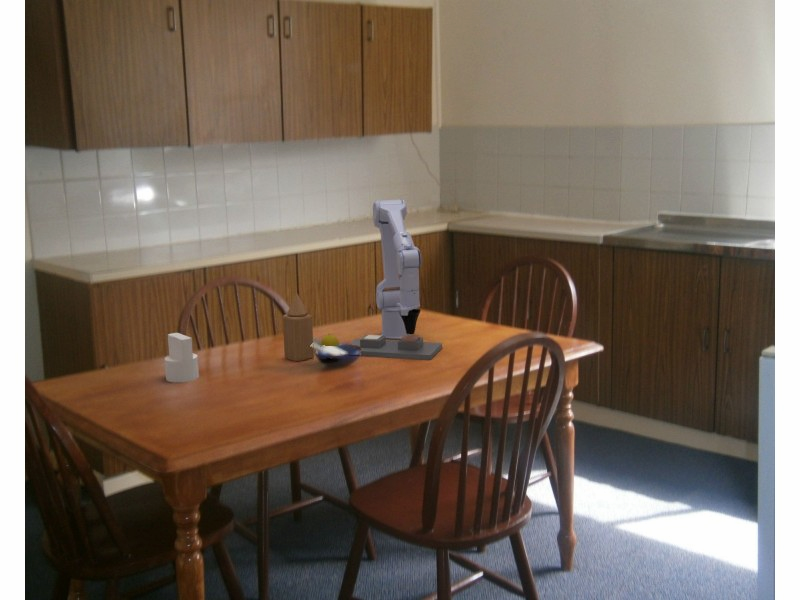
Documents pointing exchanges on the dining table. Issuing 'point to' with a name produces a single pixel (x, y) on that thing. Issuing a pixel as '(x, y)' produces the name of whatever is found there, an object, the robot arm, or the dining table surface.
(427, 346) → the grey key base
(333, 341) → the lemon
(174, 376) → the cylinder with rectangular tab
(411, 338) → the terracotta key
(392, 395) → the dining table surface
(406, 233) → the robot arm
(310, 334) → the decorative item
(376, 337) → the white key
